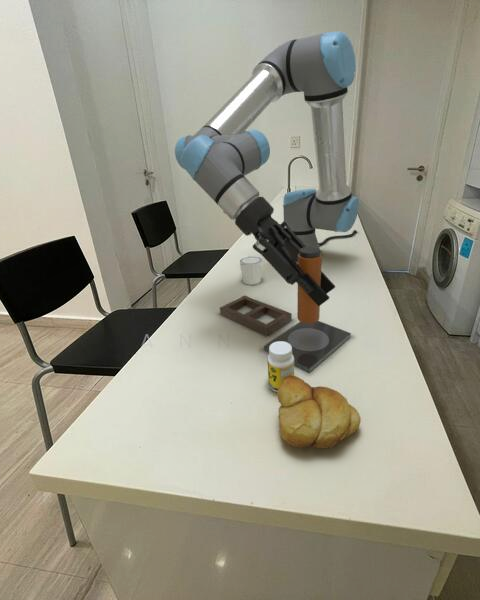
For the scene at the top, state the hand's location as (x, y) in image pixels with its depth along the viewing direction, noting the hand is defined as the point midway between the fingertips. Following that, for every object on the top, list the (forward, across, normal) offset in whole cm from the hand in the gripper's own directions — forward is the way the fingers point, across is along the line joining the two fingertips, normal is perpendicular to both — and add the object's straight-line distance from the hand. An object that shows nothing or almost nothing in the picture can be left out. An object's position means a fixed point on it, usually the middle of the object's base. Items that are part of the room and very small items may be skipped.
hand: (327, 295), depth 66 cm
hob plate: (+6, 0, -11) cm, 13 cm away
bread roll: (+12, +23, -6) cm, 26 cm away
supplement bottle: (+6, +14, -12) cm, 20 cm away
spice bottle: (+1, 0, -7) cm, 7 cm away
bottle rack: (-5, -7, -22) cm, 24 cm away
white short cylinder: (-12, -28, -30) cm, 43 cm away
